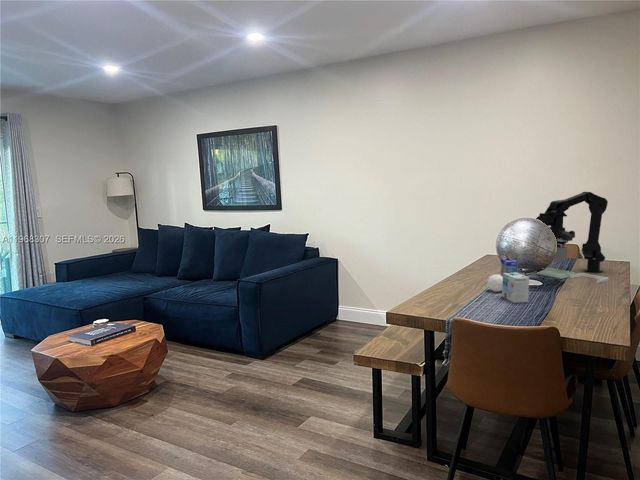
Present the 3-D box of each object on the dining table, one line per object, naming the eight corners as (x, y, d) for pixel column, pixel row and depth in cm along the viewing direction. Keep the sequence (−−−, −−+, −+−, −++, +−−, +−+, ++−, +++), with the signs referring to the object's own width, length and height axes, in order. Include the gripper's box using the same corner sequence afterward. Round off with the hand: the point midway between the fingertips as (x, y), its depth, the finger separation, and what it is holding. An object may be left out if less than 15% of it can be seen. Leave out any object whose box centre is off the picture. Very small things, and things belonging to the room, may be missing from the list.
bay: (581, 275, 240) (581, 272, 240) (609, 280, 228) (609, 277, 228) (570, 278, 236) (570, 275, 235) (597, 283, 223) (597, 280, 223)
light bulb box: (501, 296, 204) (502, 272, 203) (516, 295, 205) (517, 271, 203) (513, 303, 194) (514, 277, 192) (529, 302, 194) (529, 277, 193)
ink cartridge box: (499, 281, 231) (500, 253, 229) (511, 281, 231) (512, 253, 229) (505, 286, 222) (506, 256, 220) (517, 286, 221) (518, 256, 219)
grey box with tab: (550, 258, 248) (551, 241, 246) (566, 260, 240) (567, 243, 239) (544, 259, 245) (545, 242, 244) (560, 261, 237) (561, 244, 236)
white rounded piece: (491, 280, 220) (517, 286, 213) (485, 292, 216) (511, 299, 209) (490, 269, 215) (517, 275, 208) (483, 281, 211) (510, 288, 204)
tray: (548, 271, 253) (548, 267, 253) (574, 276, 240) (574, 272, 239) (535, 273, 248) (535, 269, 247) (561, 278, 235) (561, 274, 234)
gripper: (559, 228, 229) (558, 259, 231) (582, 225, 237) (581, 255, 240) (539, 226, 238) (538, 256, 241) (562, 223, 247) (561, 252, 249)
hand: (555, 255), depth 242 cm, fingers closed on grey box with tab, 5 cm apart
